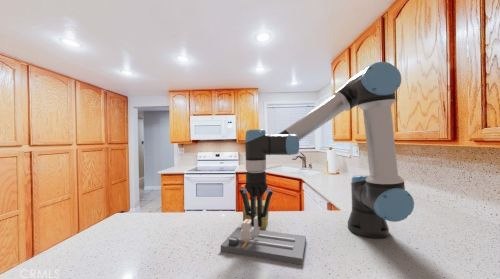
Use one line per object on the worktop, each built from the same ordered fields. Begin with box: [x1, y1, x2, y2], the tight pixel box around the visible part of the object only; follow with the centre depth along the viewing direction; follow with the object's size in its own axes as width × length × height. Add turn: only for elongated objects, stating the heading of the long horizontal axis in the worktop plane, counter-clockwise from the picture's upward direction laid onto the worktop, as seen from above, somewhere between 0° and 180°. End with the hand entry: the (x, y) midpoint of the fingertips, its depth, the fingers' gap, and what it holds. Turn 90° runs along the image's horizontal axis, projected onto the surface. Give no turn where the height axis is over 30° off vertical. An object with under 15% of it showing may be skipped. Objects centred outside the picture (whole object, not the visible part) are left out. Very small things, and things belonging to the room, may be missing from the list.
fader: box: [241, 219, 254, 240], centre depth 80 cm, size 4×4×6 cm
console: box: [220, 226, 307, 266], centre depth 77 cm, size 28×16×4 cm, turn 71°
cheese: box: [242, 199, 269, 230], centre depth 97 cm, size 10×11×10 cm
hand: (256, 234), depth 78 cm, fingers closed
